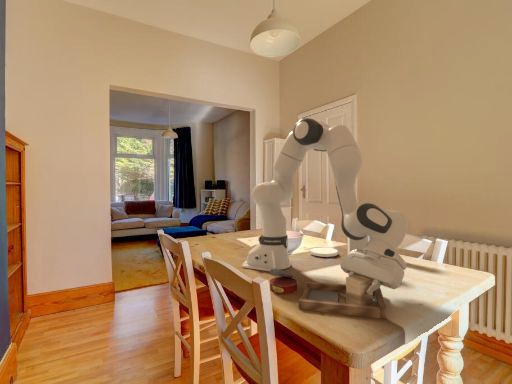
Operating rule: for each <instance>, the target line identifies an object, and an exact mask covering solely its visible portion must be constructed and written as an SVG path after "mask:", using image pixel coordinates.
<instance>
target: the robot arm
mask: <svg viewBox="0 0 512 384" xmlns="http://www.w3.org/2000/svg"><path fill="white" fill-rule="evenodd" d="M311 149H312V150H313V151H316V152H317V151H318V152H327V156H328V157H327V158H328V159H329V163H330V166H331V170H332V173H333V179H334V183H335V189H336V194H337V197H338V203H339V206H340V210H341V211H340V212H341V222H340V223H341V225H340V226H341V229H342V230H341V231H342V232H343V233H344V235H345V236H346V237H349V238H350V239H353V240H362V239H364V238H365V237H366V236H367V237H368V236H369V240H368V243H367V245H366V247H365V248H364V250H359V249H355V250H352V251H350V253H349V254H348V253H347V255H345V257H344V258H343V260H342V261H341V263H340V269H341V270H342V271H343V272H344V273H346V274H348V277H350V276H354V275H358V274H359V275H362V276H365V277H368V278H371V279H373V284H372V285H371V286H370V287H366V289H365V290H364V292H365V293H366V294H368V295H370V296H371V295H372V293H373V291H375V290H377V289H378V288H380V289H381V286H382V287H386V288H389V289H391V290H396V289H398V288H399V287H400V286H401V284H402V281H403V280H404V277H405V270H406V269H407V268H408V265H407V263H406V262H405V260H404V258H403V257H402V256H401V255H400V253H398V252H397V251H398V249H399V246H401V245H402V243H403V242H404V240H405V237H406V235H407V233H408V231H409V225H410V224H409V223H410V222H409V219H408V217H406V215H405V214H403V212H401V211H398V210H395V209H391V210H390V209H385V208H381V207H379V206H377V205H376V204H374V203H369V202H366V203H363V204H361V205H360V206H359V203H358V200H357V197H356V193H355V184H356V180H357V179H358V178H357V177H358V175H359V173H360V171H361V169H362V166H363V160H362V159H363V158H362V154H361V153H362V152H361V151H360V148H359V145H358V144H357V141H356V139H355V137H354V135H353V134H352V132H351V129H350V128H348V126H346V125H344V124H336V125H333V126H330V125H328V124H327V123H325V122H322V121H318V120H315V119H313V118H309V117H308V118H304V117H303V118H301V119H299V120H298V121H297V122H296V123H295V125H294V127H293V130H292V131H290V132H289V134H288V135H287V137H286V138H285V139H284V141H283V142H282V145H281V147H280V148H279V152H278V153H277V156H276V158H275V160H274V163H273V164H272V165H273V166H272V169H273V177H272V180H271V181H264V182H260V183H258V184H257V185H255V186H254V187H253V189H252V192H251V197H252V200H253V203H254V204H256V205H257V207H258V211H259V213H260V216H261V223H262V234H261V235H260V236H259V237H258V238H257V239H258V240H257V241H258V242H259V243H258V244H257V245H254V247H253V248H251V249H250V251H248V253H247V258H246V260H243V261H244V262H242V268H244V269H251V270H258V271H265V272H270V270H271V269H279V270H285V269H288V268H290V267H291V266H292V264H291V261H290V258H289V257H290V256H289V250H288V247H289V239H288V237H289V236H288V234H287V218H286V216H285V215H284V213H283V211H282V206H281V205H285V204H287V203H288V202H290V201H291V200H292V199H293V196H294V189H293V188H294V182H295V178H296V175H297V173H298V171H299V169H300V167H301V165H302V162H303V160H304V159H305V155H306V154H307V152H308V151H310V150H311Z"/></svg>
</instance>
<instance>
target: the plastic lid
mask: <svg viewBox="0 0 512 384" xmlns="http://www.w3.org/2000/svg"><path fill="white" fill-rule="evenodd" d="M338 254H339V251H338V249H336V248H332V247H314V248H311V249H310V255H312V256H316V257H322V258H323V257H325V258H329V257H330V258H331V257H336V256H338Z"/></svg>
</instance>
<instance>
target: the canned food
mask: <svg viewBox="0 0 512 384" xmlns="http://www.w3.org/2000/svg"><path fill="white" fill-rule="evenodd" d="M268 272H269V274H270V275H272V276H275V277H273V278H271V279H270V280H269V285H270V286H269V288H270V289H269V290H270V291H271V293H274V294H278V295H290V294H291V295H292V294H294V293H296V292H297V291H298V280H297V279H298V277H297V276H295V275H293V274H291V273H288V272H286V271H284V270H283V269H281V270H279V269H271V270H270V271H268Z"/></svg>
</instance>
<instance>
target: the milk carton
mask: <svg viewBox="0 0 512 384" xmlns="http://www.w3.org/2000/svg"><path fill="white" fill-rule="evenodd" d="M346 237H347V236H346ZM368 239H369V238H368V236H366V237H365V238H364V239H362V240H353V239H350V238H349V237H347V240H346V241H347V255H348V254H349V253H350V251H352V250H355V249H359V250H364V248H365V247H366V245H367V243H368V242H369V240H368Z"/></svg>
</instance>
